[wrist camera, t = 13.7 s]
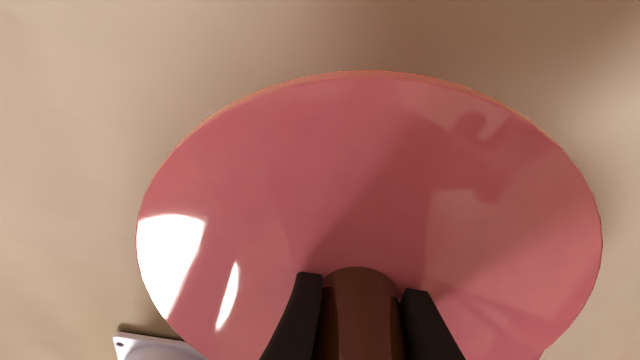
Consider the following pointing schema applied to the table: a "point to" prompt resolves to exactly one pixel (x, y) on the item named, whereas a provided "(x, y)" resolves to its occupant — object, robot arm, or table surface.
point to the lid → (369, 220)
